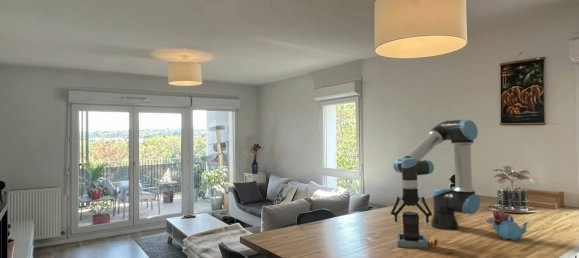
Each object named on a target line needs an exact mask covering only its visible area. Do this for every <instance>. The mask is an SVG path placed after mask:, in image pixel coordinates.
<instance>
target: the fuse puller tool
mask: <svg viewBox="0 0 579 258" xmlns="http://www.w3.org/2000/svg"><path fill="white" fill-rule="evenodd" d="M435 242H436V237H435V236H431V237H430V240H429V246H435Z"/></svg>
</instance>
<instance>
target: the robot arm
mask: <svg viewBox="0 0 579 258" xmlns="http://www.w3.org/2000/svg"><path fill="white" fill-rule="evenodd" d="M478 134H479V131H478V127H477V125H476V123H474V121H472V120H470V119H456V120H445V121H443V122H440V123H437V125H435V126H434V127H433V128H431V129H430V130H429V131H428V133H427V136H426V137H424V138H423V139H422V140H421V141H420V142H419V143H418V144H416V145H415V147H413V148H412V149H411V150H410V151H409V152H408V153H407V154H406V155H405V156H404V157H403V158H402V159H400V158H398V159H395V160H394V162H393V164H392V165H393V170H394V171H395V172H396V173H401V179H402V180H401V182H402V183H401V184H402V197H401V196H397V197H396V201H395V203H394V204H393V207H392V209H391V211H390V214H391V215H393V216H394V222H395V223H396V225H397V226H396V227H397V229H398V230H399V229H400V224H399V220H400V219H399V214H400V212H401V211H402V210H403V209H404V208H405V207H406V206H408V207H411V206H412V207H414V206H416V207H417V208H418V209H419V210H420V211H421V212H422V214H424V216H423V221H424V223H423V224H424V230H426V231H427V230H428V228H427V225H428V224H429V222H430V221H429V217H430V216H432V219H431V222H430V225H431V227H432V228H435V229H441V230H455V229H458V228H459V223H458V220H457V217H456V214H455V213H460V214H465V215H474V214H476V213H477V212H478V210H479V209H480V206H481V199H480V197H479V195H478V194H476V190H475V189H474V188H473V181H472V154H471V153H472V150H471V146H472V145H473V144H474V140H476V139H477V138H478ZM445 141H450V144H451V145H453V148H454V150H453V151H454V152H453V153H454V178H455V186H454V188H437V189H434V190H433V191H432V192H433V193H432V195H433V196H432V199H433V213H432V211H431V210H430V208H429V206H428V205H427V203H426V199H425V196H421V197H419V190H418V184H419V183H418V176H424V175H426V176H427V175H430V174H432V173H433V172H434V169H435V168H434V165H435V164H433V162H432V161H431V160H426V159H423V158H425V157H426V156H427V155H428V154H429V153H430V152H431V151H432V150H433V149H434V148H435V147H436V146H438V145H440V144H442V143H443V142H445ZM401 201H403V202H402V204H401V205H400V207H398V205H399V203H400V202H401ZM419 201H420V202H421V203H423V205H424V207H425V209H426V210H427V212H426V210H425V209H424V208H423V207H422V206H421V205H420V204H419ZM397 207H398V209H397ZM396 209H397V210H396Z"/></svg>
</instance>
